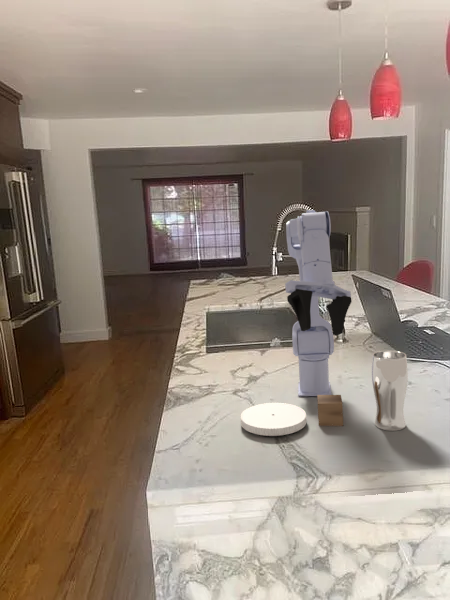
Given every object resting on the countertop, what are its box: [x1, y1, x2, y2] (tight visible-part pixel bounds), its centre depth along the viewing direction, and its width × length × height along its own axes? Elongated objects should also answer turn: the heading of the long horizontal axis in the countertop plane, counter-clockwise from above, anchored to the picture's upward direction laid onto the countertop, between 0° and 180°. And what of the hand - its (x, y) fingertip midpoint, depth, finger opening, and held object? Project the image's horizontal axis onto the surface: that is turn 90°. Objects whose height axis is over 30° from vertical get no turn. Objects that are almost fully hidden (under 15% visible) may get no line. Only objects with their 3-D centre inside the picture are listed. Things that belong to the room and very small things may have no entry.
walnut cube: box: [316, 394, 344, 427], centre depth 106 cm, size 5×5×5 cm
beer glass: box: [371, 349, 409, 432], centre depth 101 cm, size 7×7×15 cm
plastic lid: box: [240, 402, 308, 437], centre depth 107 cm, size 14×14×2 cm
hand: (322, 332), depth 95 cm, fingers open, 7 cm apart
